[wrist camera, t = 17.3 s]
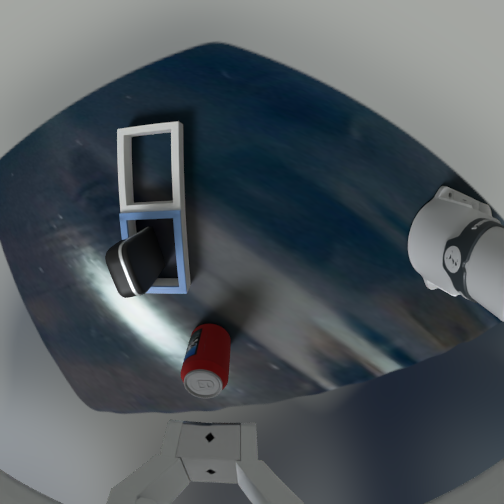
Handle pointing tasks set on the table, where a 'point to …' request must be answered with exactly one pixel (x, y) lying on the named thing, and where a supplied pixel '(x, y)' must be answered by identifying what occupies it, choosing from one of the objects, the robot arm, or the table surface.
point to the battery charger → (135, 263)
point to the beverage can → (207, 361)
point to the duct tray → (156, 208)
